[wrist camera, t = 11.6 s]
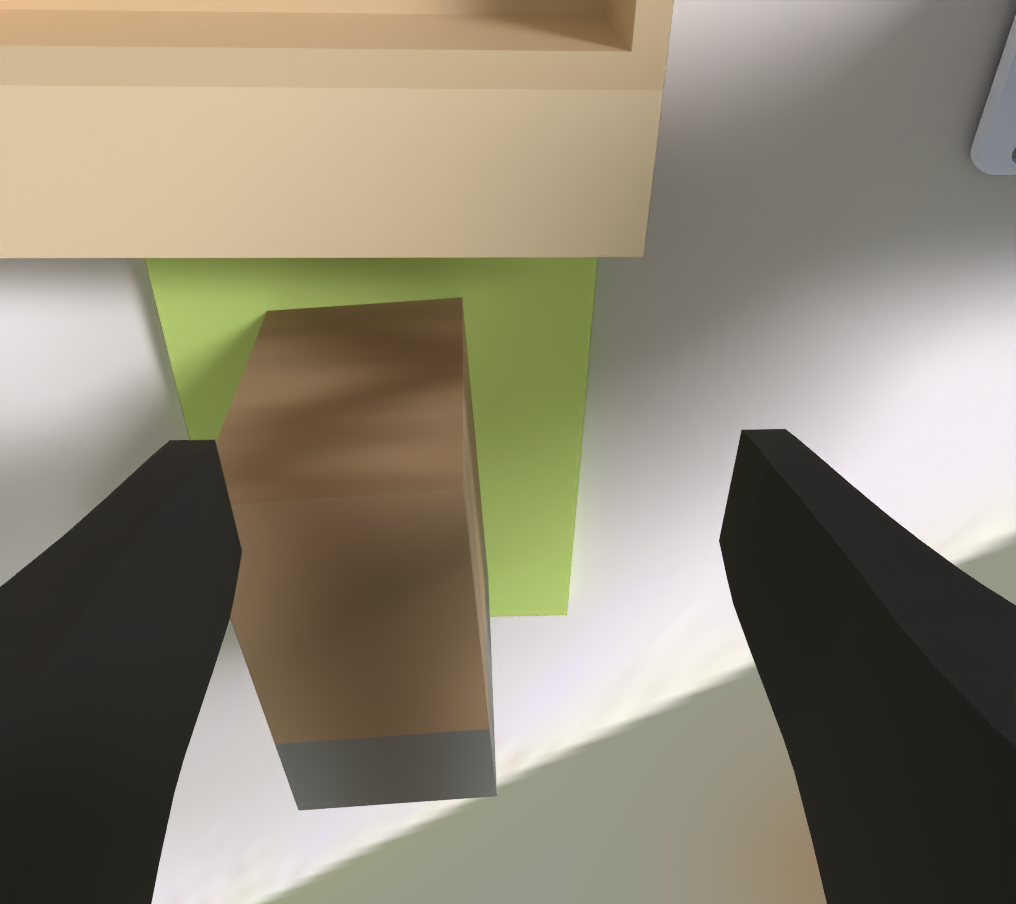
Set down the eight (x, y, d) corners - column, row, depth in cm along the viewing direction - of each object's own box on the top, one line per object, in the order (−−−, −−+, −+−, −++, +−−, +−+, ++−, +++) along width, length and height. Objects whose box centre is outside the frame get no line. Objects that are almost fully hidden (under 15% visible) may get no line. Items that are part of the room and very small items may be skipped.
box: (462, 297, 20) (463, 488, 14) (488, 577, 25) (496, 796, 20) (266, 310, 20) (190, 507, 14) (334, 587, 25) (298, 810, 20)
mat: (595, 230, 20) (598, 241, 19) (564, 600, 27) (567, 614, 26) (148, 230, 19) (140, 241, 19) (238, 607, 26) (234, 621, 26)
